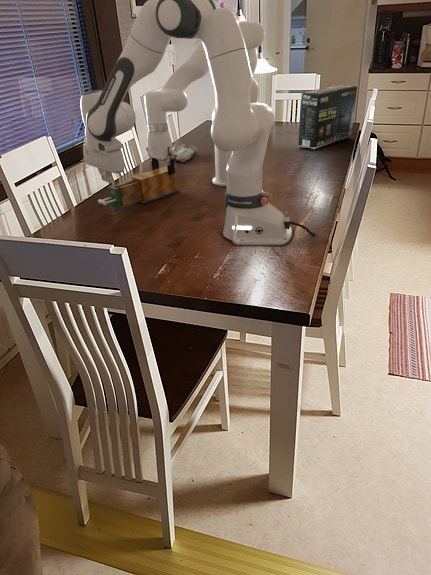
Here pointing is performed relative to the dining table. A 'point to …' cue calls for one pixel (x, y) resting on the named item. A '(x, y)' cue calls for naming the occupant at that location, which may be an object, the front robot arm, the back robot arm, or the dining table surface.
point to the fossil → (184, 151)
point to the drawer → (124, 194)
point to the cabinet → (156, 184)
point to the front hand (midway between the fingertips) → (106, 180)
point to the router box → (326, 115)
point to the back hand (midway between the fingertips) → (163, 172)
